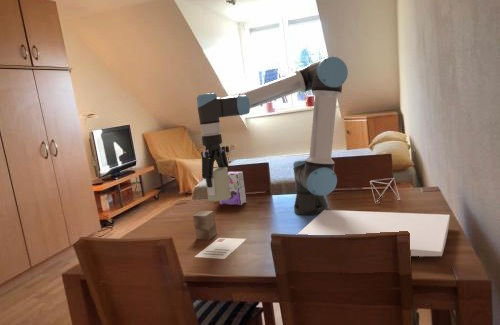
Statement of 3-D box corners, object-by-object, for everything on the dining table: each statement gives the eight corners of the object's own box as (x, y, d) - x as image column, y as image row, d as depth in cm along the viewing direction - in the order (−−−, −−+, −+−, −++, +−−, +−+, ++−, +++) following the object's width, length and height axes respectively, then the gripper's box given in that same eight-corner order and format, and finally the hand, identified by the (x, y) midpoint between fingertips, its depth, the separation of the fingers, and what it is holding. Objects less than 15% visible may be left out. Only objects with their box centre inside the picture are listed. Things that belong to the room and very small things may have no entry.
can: (228, 200, 147) (224, 169, 145) (204, 202, 149) (200, 171, 147) (233, 194, 156) (229, 165, 154) (211, 195, 158) (207, 166, 156)
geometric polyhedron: (402, 197, 175) (401, 177, 174) (397, 204, 166) (396, 183, 165) (374, 196, 182) (372, 177, 181) (368, 203, 173) (366, 183, 172)
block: (217, 234, 157) (213, 211, 155) (209, 240, 151) (206, 215, 150) (204, 234, 159) (200, 211, 158) (196, 240, 154) (192, 215, 152)
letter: (246, 239, 147) (246, 238, 147) (224, 259, 131) (224, 258, 131) (219, 238, 152) (218, 237, 152) (194, 257, 136) (194, 256, 136)
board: (292, 252, 130) (291, 239, 130) (325, 221, 157) (324, 209, 157) (442, 267, 107) (441, 251, 106) (450, 227, 134) (449, 214, 134)
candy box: (218, 204, 203) (214, 173, 201) (225, 201, 208) (221, 171, 206) (240, 205, 196) (236, 173, 194) (247, 202, 201) (242, 171, 198)
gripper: (217, 131, 159) (224, 185, 163) (186, 138, 140) (195, 199, 144) (233, 130, 156) (240, 185, 159) (203, 137, 137) (212, 199, 141)
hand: (218, 191), depth 152 cm, fingers closed on can, 9 cm apart
